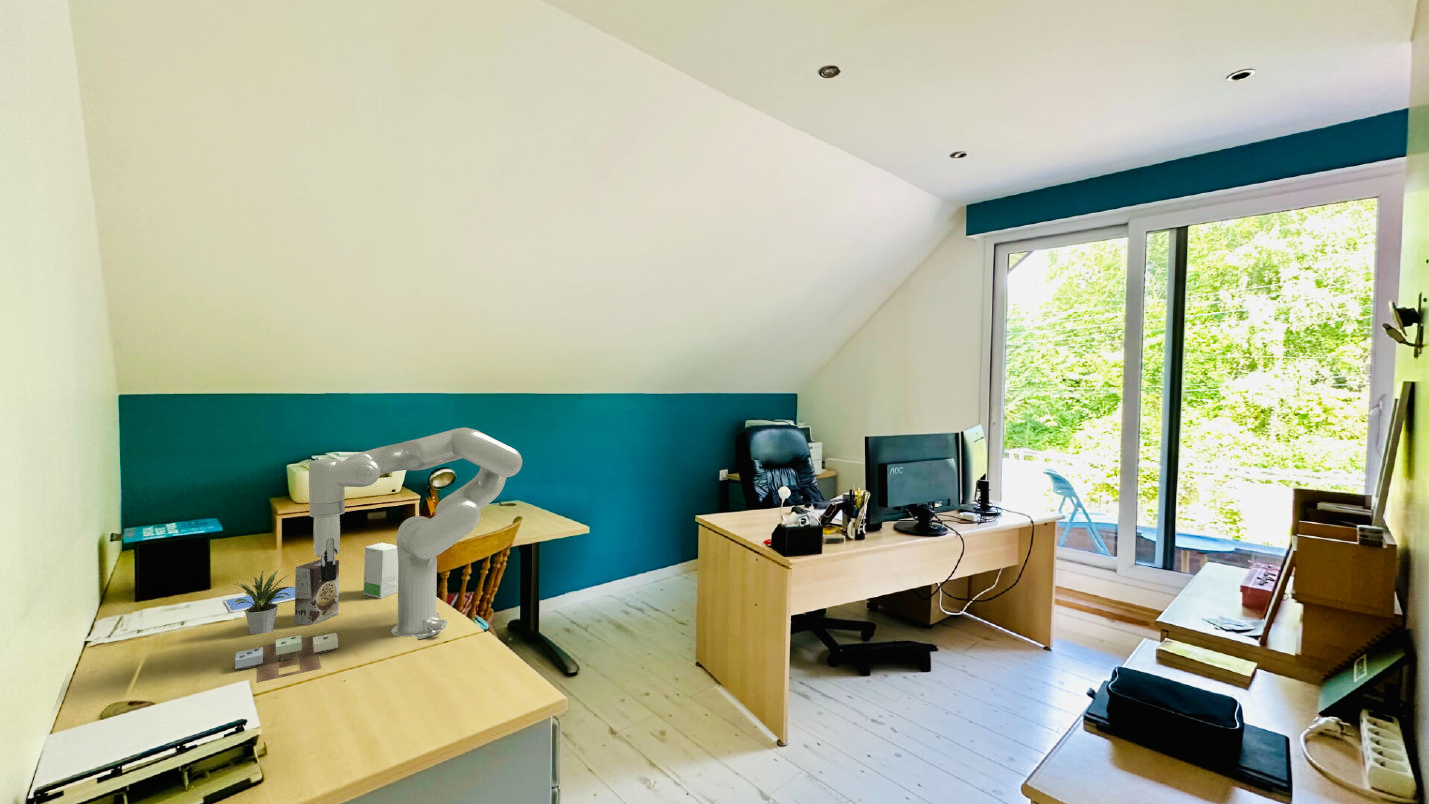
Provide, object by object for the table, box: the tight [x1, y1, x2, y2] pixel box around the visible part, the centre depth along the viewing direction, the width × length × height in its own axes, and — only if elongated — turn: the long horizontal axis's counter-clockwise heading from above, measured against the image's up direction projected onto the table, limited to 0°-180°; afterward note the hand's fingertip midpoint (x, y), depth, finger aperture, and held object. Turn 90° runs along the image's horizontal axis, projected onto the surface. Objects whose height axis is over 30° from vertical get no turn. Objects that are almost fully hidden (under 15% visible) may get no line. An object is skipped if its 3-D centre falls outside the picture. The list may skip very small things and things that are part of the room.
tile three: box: [234, 647, 263, 670], centre depth 141 cm, size 5×5×4 cm
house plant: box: [225, 570, 293, 635], centre depth 161 cm, size 14×14×16 cm
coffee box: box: [294, 558, 340, 626], centre depth 172 cm, size 9×6×16 cm
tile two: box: [275, 634, 302, 662], centre depth 145 cm, size 5×5×4 cm
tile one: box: [313, 632, 339, 654], centre depth 150 cm, size 5×5×4 cm
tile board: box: [256, 635, 322, 683], centre depth 145 cm, size 12×22×1 cm, turn 37°
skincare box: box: [363, 542, 398, 599], centre depth 193 cm, size 8×7×16 cm
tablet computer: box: [223, 586, 295, 614], centre depth 185 cm, size 19×13×1 cm, turn 137°
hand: (328, 580), depth 151 cm, fingers closed
